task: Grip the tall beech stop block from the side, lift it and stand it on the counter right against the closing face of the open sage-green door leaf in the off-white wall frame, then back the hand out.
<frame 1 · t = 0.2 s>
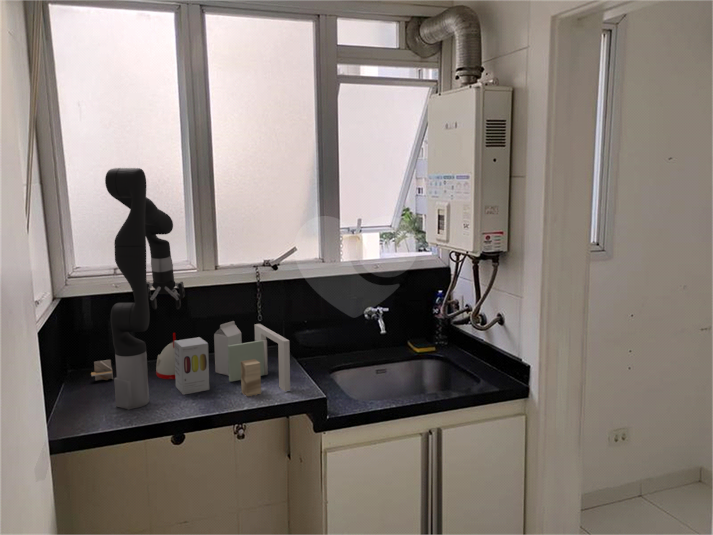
hand: (166, 308, 215), 23 cm above the countertop, tool pointing down, fingers open, 8 cm apart
architectural model: (104, 381, 204), on the countertop
milk carton: (229, 372, 213), on the countertop
supplement box: (192, 388, 196), on the countertop
door frame: (265, 375, 209), on the countertop
kitchen timer: (176, 373, 212), on the countertop
stop block: (251, 393, 192), on the countertop
door: (247, 359, 205), point 7 cm above the countertop, hinge at -90.0°
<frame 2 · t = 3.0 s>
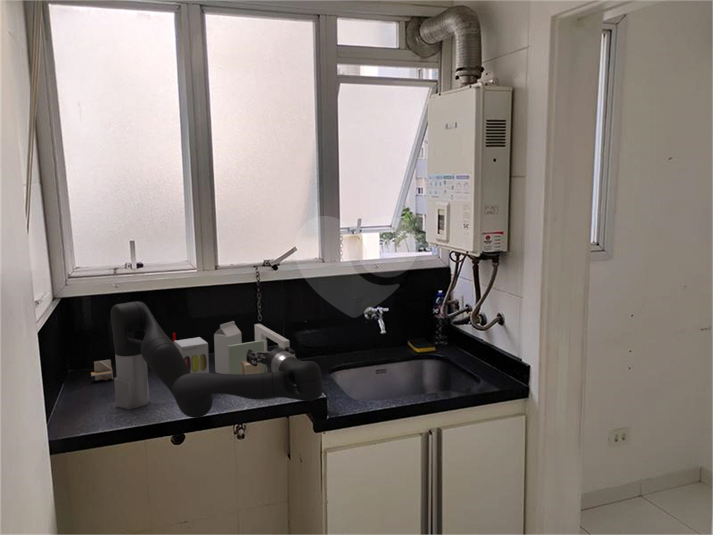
hand: (262, 350, 180), 18 cm above the countertop, tool horizontal, fingers open, 8 cm apart
nothing on the countertop moved.
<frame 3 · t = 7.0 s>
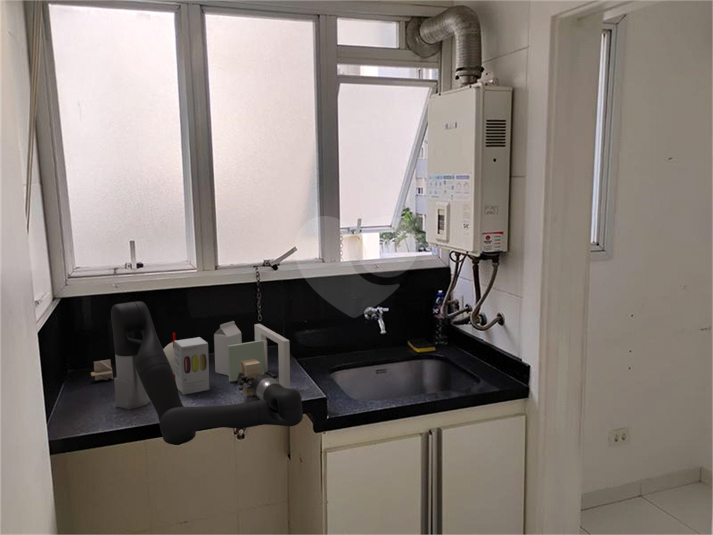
hand: (248, 373, 193), 6 cm above the countertop, tool horizontal, fingers closed on stop block, 5 cm apart
stop block: (251, 393, 192), on the countertop, touching gripper
everything else where it was.
when the fingers open (7 cm above the countertop, at t = 12.6 s): stop block drops 1 cm, on the countertop.
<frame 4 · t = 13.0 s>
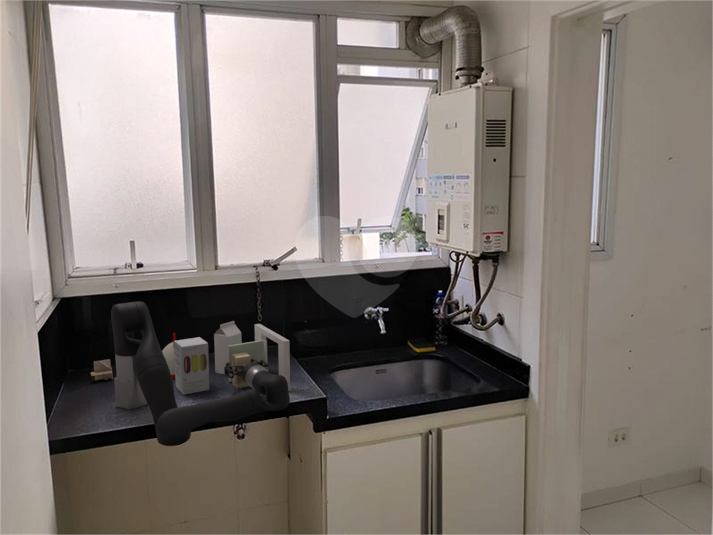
hand: (239, 363, 200), 8 cm above the countertop, tool horizontal, fingers open, 8 cm apart
stop block: (241, 385, 199), on the countertop
everything else where it was.
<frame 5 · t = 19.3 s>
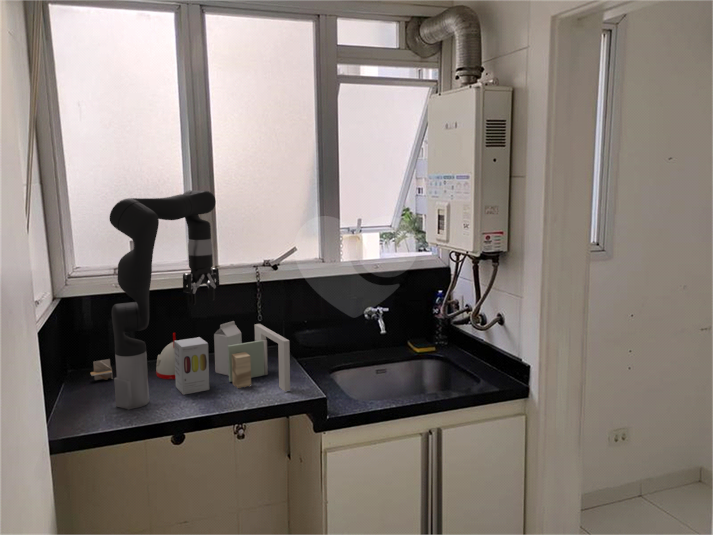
hand: (202, 302, 184), 32 cm above the countertop, tool pointing down, fingers open, 8 cm apart
nothing on the countertop moved.
at the end: stop block 0.0 cm from the target spot, on the countertop; stop block tilted 0°; door at -90° (first picture: -90°) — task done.
